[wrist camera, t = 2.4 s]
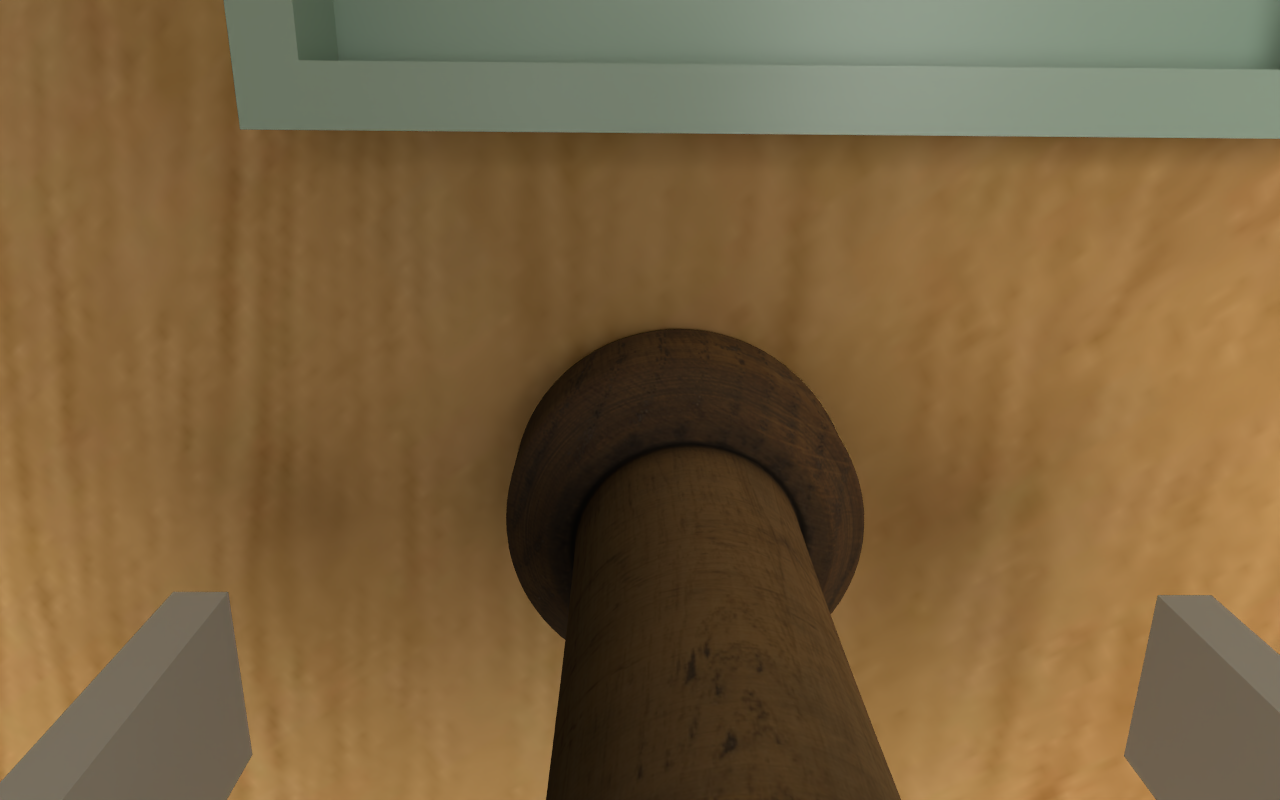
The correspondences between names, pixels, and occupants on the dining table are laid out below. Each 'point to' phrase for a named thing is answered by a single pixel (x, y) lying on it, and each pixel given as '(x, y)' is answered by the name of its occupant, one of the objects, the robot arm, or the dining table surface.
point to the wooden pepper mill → (694, 577)
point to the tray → (761, 66)
